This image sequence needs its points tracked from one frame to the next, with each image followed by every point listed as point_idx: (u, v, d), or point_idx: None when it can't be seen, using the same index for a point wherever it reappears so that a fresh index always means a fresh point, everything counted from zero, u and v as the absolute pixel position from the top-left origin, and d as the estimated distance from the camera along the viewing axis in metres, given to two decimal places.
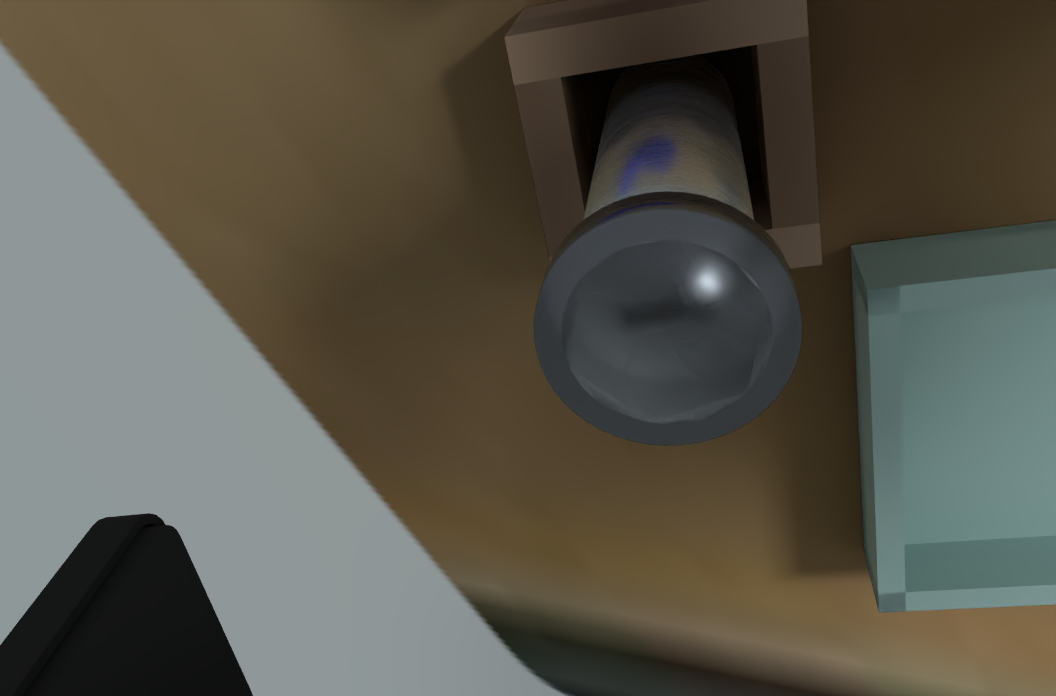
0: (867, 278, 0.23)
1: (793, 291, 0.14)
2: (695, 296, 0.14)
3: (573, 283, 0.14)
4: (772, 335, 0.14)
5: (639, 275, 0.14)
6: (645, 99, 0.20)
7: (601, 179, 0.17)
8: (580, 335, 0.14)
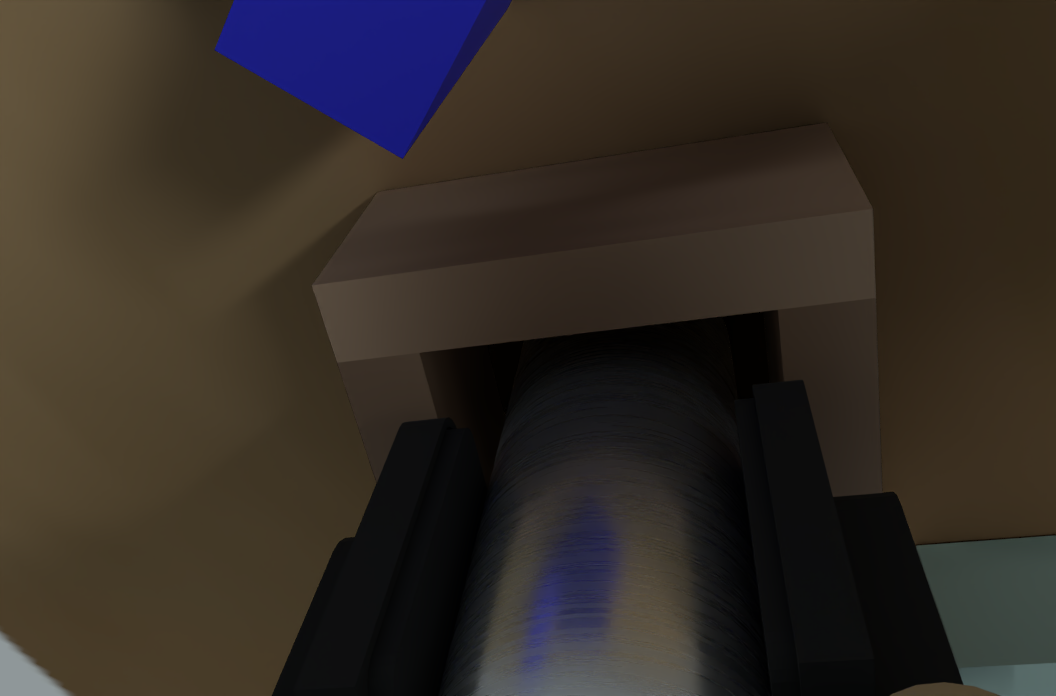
0: (954, 636, 0.14)
1: None
2: None
3: None
4: None
5: None
6: (570, 413, 0.10)
7: (458, 685, 0.08)
8: None
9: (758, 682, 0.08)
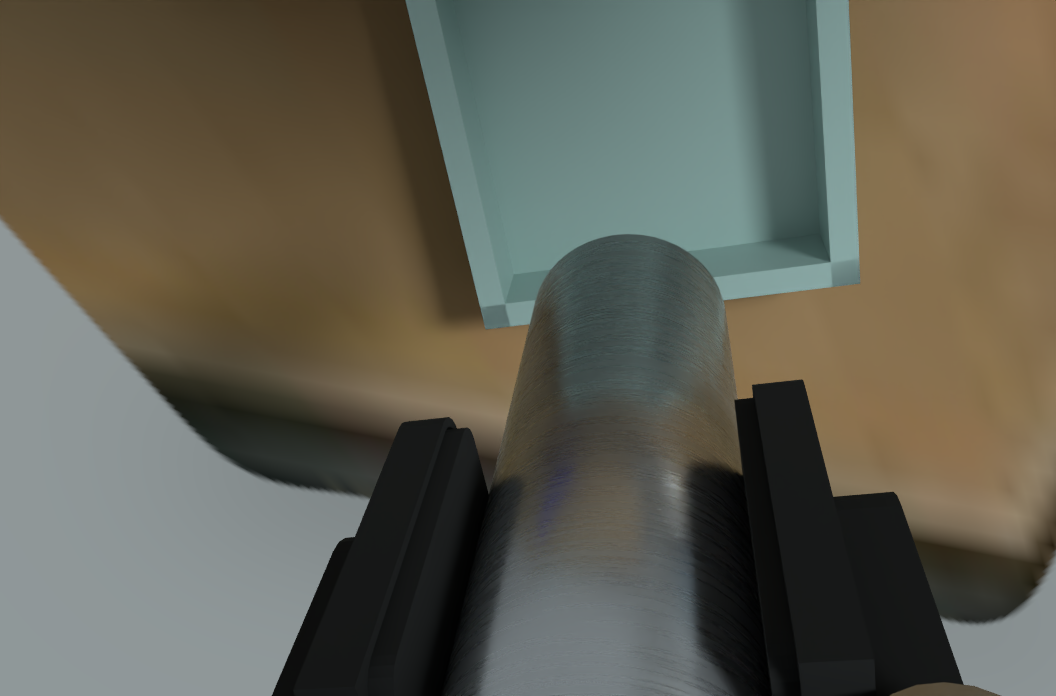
0: None
1: None
2: None
3: None
4: None
5: None
6: (579, 364, 0.11)
7: (482, 591, 0.09)
8: None
9: (747, 590, 0.09)
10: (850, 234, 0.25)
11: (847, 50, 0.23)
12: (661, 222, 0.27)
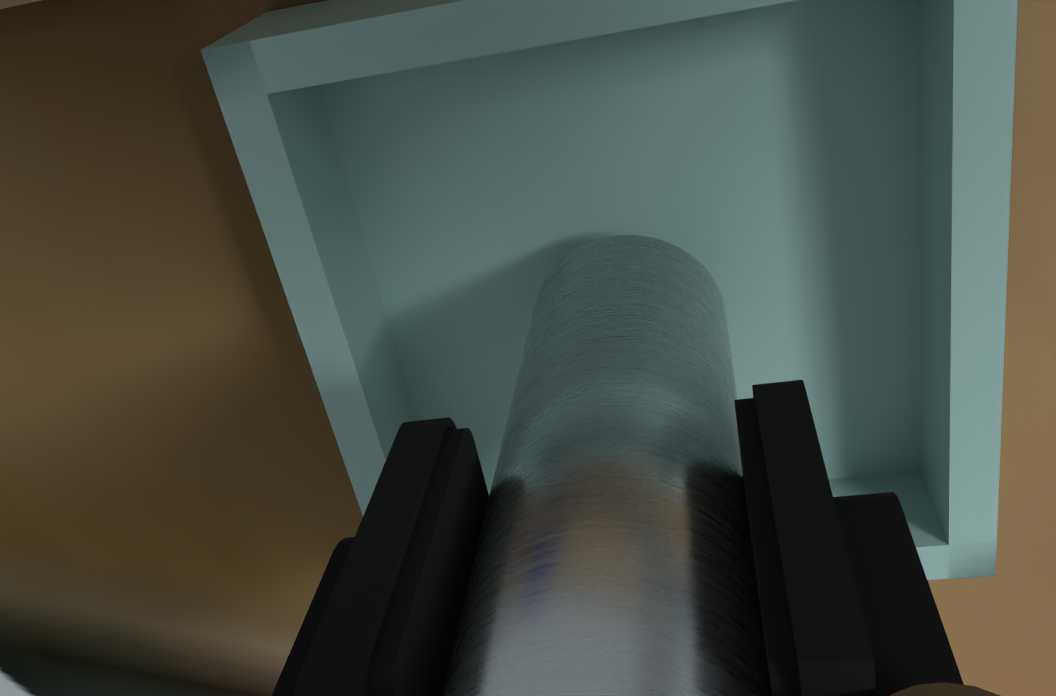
0: (222, 39, 0.13)
1: None
2: None
3: None
4: None
5: None
6: (579, 365, 0.11)
7: (482, 592, 0.09)
8: None
9: (747, 591, 0.09)
10: (985, 507, 0.15)
11: (1003, 228, 0.13)
12: None
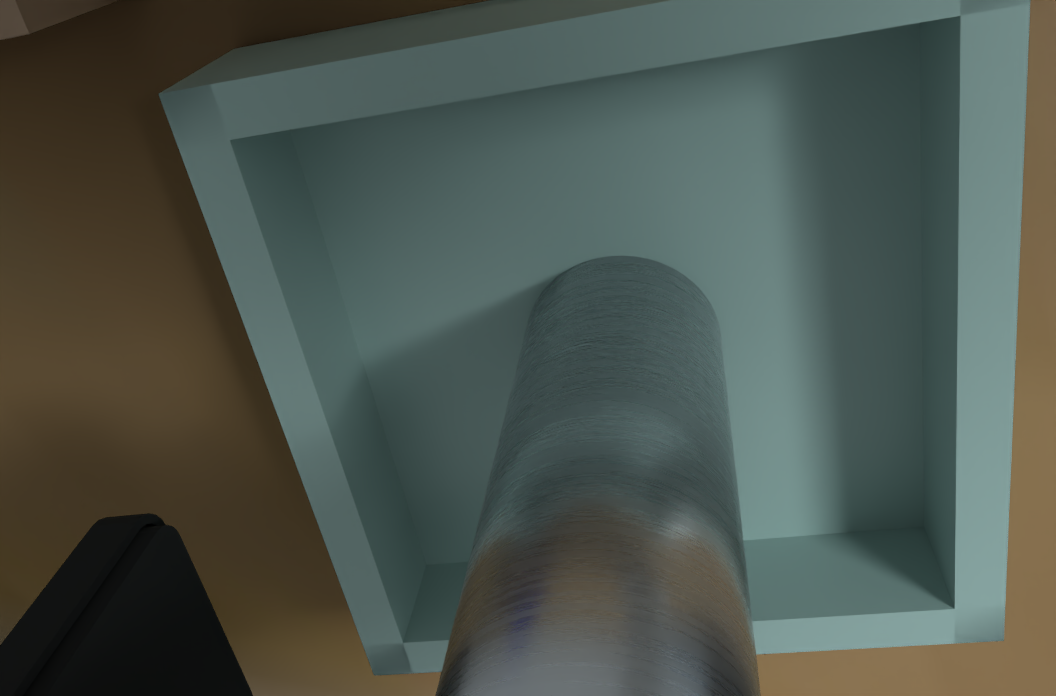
0: (183, 81, 0.13)
1: None
2: None
3: None
4: None
5: None
6: (568, 398, 0.11)
7: (464, 642, 0.09)
8: None
9: (736, 641, 0.09)
10: (993, 570, 0.14)
11: (1012, 283, 0.12)
12: None
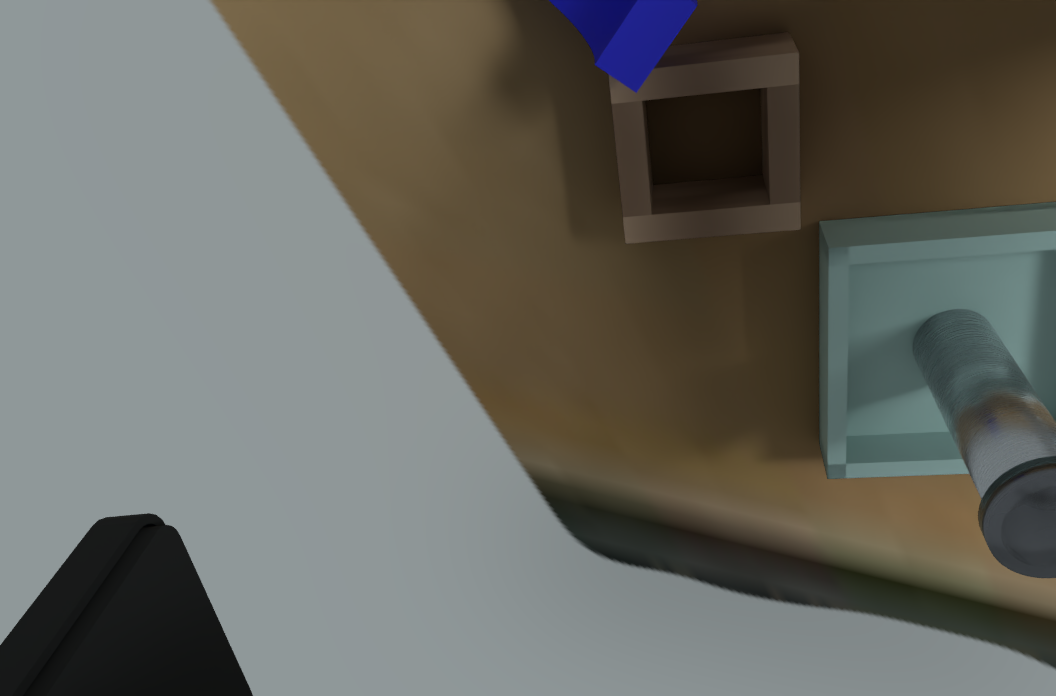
0: (829, 241, 0.35)
1: None
2: None
3: (1016, 500, 0.28)
4: None
5: (1052, 498, 0.28)
6: (976, 359, 0.34)
7: (982, 422, 0.31)
8: (1012, 524, 0.28)
9: None
10: None
11: None
12: None
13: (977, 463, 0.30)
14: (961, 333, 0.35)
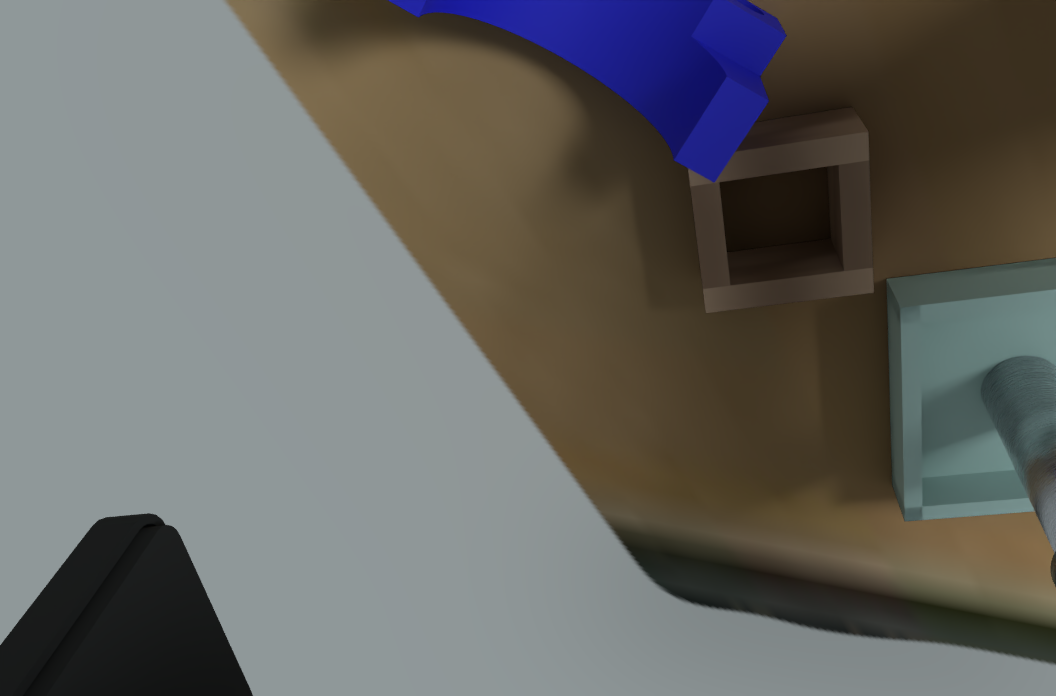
0: (899, 300, 0.37)
1: None
2: None
3: None
4: None
5: None
6: (1044, 410, 0.35)
7: (1051, 477, 0.33)
8: None
9: None
10: None
11: None
12: None
13: (1048, 518, 0.32)
14: (1028, 382, 0.37)
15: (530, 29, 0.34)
